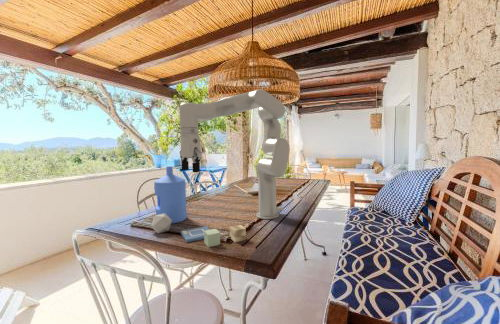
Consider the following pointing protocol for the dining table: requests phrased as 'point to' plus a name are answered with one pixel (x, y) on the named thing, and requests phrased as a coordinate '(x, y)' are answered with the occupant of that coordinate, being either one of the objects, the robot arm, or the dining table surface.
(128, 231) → the dining table surface
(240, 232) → the pine block
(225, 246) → the dining table surface
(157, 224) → the die
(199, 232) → the board
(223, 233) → the dining table surface
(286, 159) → the robot arm
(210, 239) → the green block
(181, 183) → the water jug
